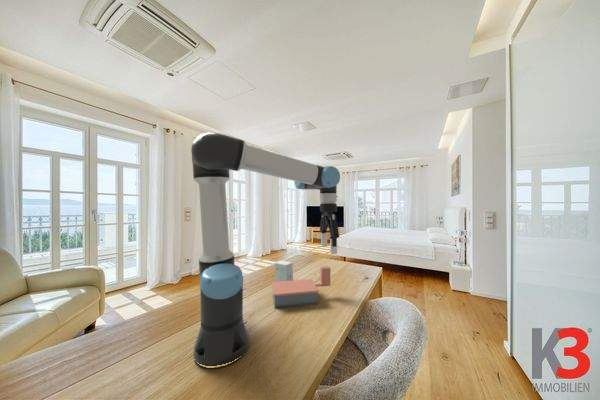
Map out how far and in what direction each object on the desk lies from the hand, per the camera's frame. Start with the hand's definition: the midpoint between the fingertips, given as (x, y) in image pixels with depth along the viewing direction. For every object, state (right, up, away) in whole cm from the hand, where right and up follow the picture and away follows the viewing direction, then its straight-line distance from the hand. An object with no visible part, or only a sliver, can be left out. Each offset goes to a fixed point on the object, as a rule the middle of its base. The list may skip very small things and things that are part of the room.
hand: (328, 250), depth 94 cm
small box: (-22, -22, +17) cm, 35 cm away
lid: (-12, -16, -1) cm, 20 cm away
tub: (-16, -21, -2) cm, 26 cm away
